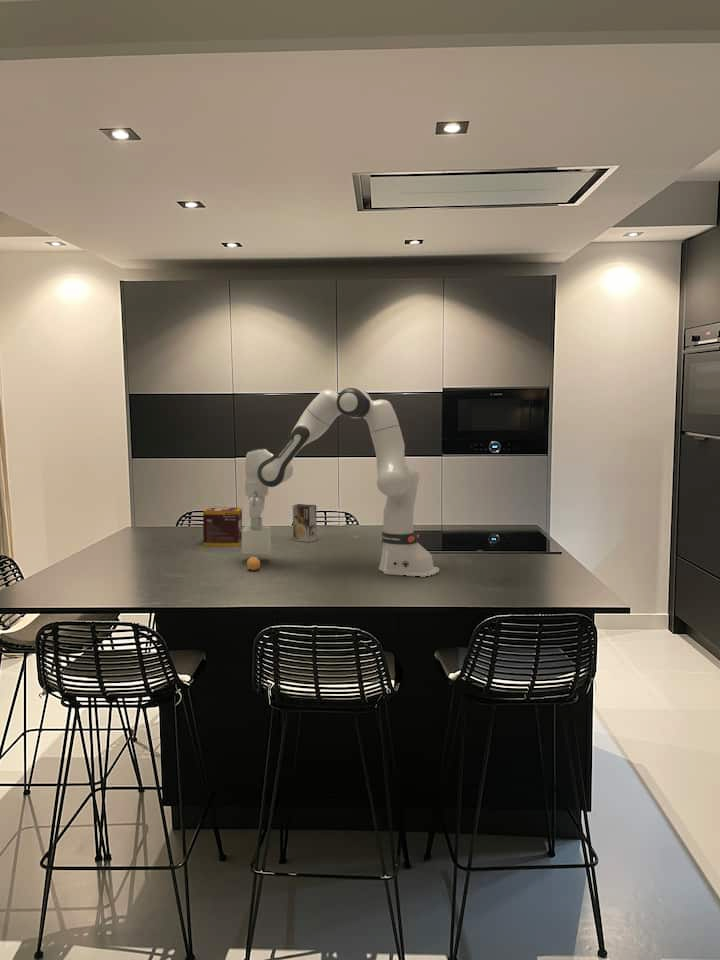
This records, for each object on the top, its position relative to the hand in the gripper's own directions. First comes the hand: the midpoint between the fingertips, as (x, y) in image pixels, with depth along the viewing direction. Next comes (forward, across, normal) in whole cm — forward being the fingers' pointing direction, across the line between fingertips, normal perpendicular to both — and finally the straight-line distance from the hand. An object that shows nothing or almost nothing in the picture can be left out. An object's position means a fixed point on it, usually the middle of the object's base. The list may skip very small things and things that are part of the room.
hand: (256, 525), depth 288 cm
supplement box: (+15, +36, +18) cm, 43 cm away
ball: (+12, -15, 0) cm, 19 cm away
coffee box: (+14, +44, -17) cm, 49 cm away
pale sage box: (+10, 0, 0) cm, 10 cm away
